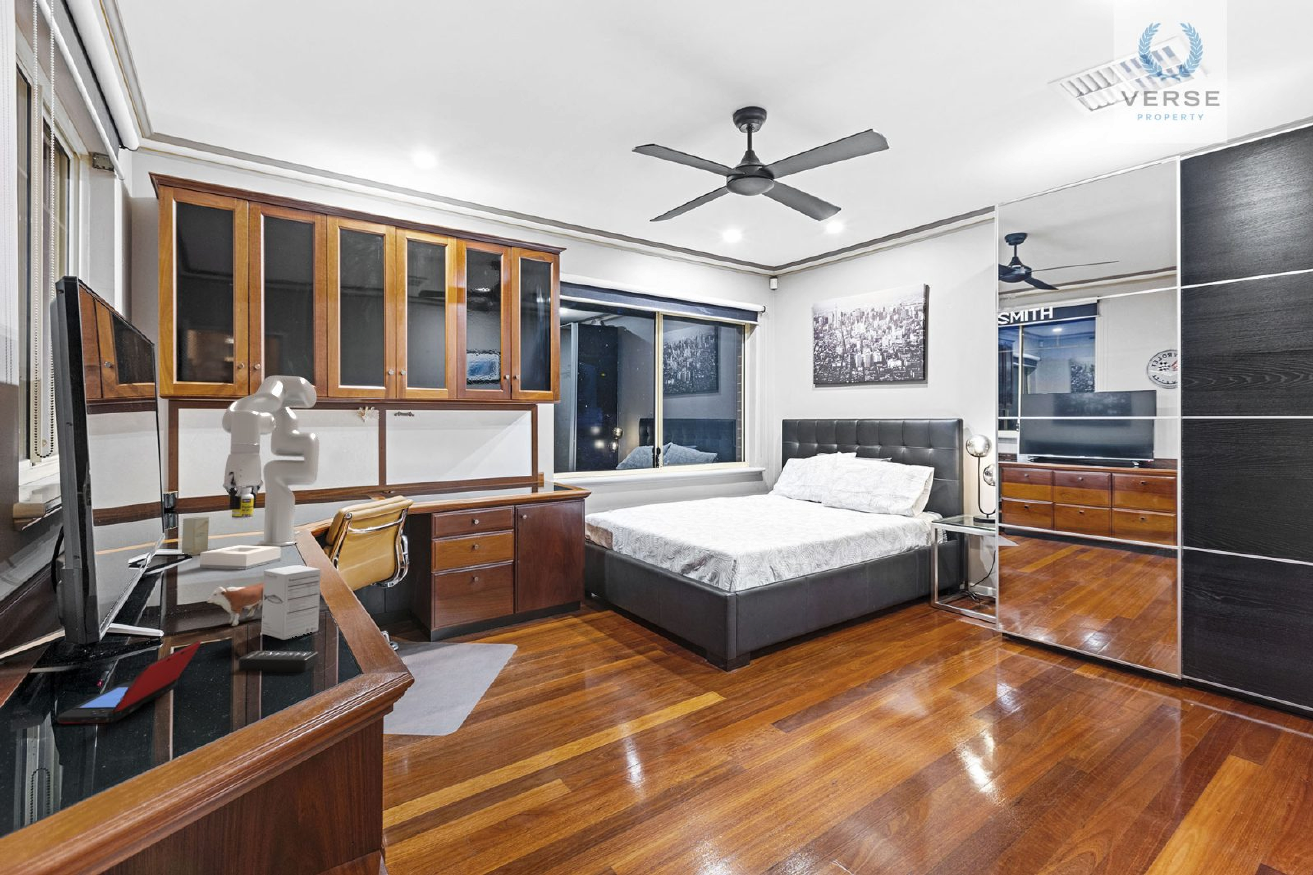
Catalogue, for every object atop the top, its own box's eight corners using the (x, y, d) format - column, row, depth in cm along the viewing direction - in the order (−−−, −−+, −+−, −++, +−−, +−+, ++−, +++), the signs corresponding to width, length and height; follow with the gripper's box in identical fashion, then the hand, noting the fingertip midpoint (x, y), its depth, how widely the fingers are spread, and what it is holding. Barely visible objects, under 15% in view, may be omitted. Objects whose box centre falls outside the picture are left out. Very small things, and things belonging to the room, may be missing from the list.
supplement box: (259, 634, 117) (262, 569, 118) (297, 625, 124) (299, 564, 124) (282, 641, 114) (284, 574, 114) (319, 631, 120) (322, 567, 121)
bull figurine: (201, 629, 120) (203, 588, 120) (263, 612, 133) (264, 575, 133) (217, 631, 119) (219, 589, 119) (278, 614, 132) (279, 577, 132)
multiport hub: (304, 674, 98) (304, 660, 98) (236, 673, 98) (237, 658, 98) (319, 664, 103) (319, 651, 103) (254, 663, 103) (254, 650, 103)
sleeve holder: (237, 559, 194) (238, 545, 194) (280, 560, 193) (280, 546, 193) (199, 567, 179) (200, 552, 179) (246, 569, 178) (246, 554, 178)
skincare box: (193, 555, 199) (195, 518, 199) (180, 555, 199) (182, 518, 199) (208, 552, 205) (209, 516, 205) (195, 552, 205) (197, 516, 206)
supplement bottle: (241, 520, 183) (243, 488, 184) (227, 519, 184) (228, 487, 185) (257, 518, 189) (258, 487, 189) (242, 517, 190) (243, 486, 190)
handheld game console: (125, 688, 91) (127, 639, 91) (201, 687, 92) (204, 638, 92) (50, 726, 78) (53, 668, 78) (140, 724, 79) (143, 667, 80)
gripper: (254, 450, 196) (252, 505, 195) (211, 449, 179) (208, 510, 178) (276, 450, 195) (273, 506, 195) (235, 450, 178) (232, 511, 178)
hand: (242, 507), depth 187 cm, fingers closed on supplement bottle, 5 cm apart
